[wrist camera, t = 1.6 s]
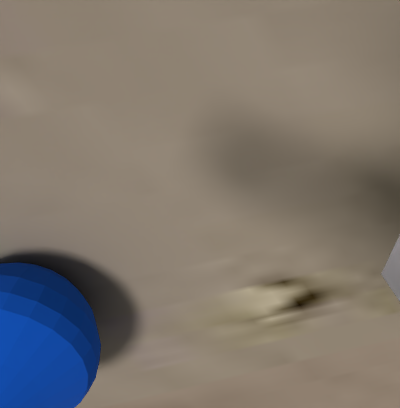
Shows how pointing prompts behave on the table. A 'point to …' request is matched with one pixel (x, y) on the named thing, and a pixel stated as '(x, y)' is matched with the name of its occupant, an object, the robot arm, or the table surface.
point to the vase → (44, 339)
